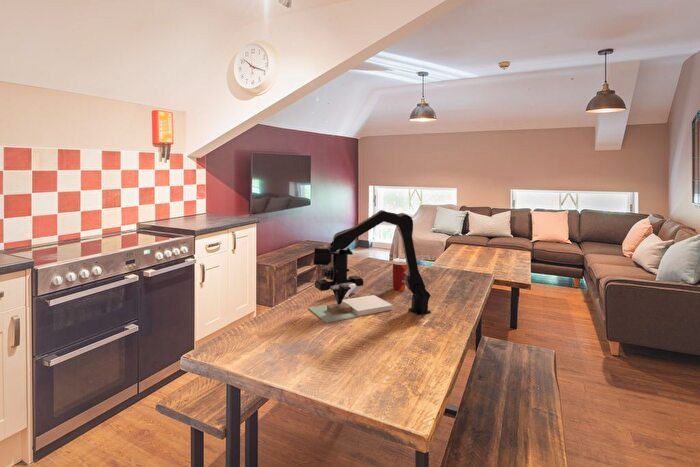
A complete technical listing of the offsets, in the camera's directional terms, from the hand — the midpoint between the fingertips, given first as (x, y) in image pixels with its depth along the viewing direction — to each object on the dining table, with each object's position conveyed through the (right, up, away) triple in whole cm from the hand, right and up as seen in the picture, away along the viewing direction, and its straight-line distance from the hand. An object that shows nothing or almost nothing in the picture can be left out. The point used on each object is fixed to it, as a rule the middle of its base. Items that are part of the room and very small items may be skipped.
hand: (338, 304), depth 161 cm
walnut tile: (0, -3, 0) cm, 3 cm away
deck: (+11, -2, +6) cm, 13 cm away
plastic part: (+3, 0, +24) cm, 24 cm away
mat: (-2, -3, -1) cm, 4 cm away
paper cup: (+27, +1, +32) cm, 42 cm away
